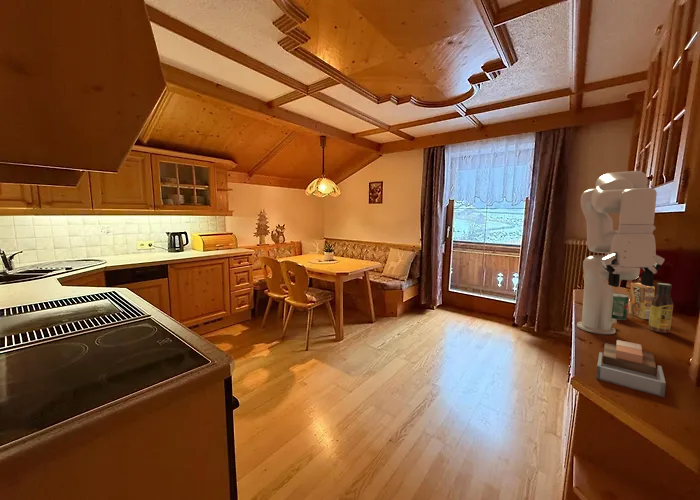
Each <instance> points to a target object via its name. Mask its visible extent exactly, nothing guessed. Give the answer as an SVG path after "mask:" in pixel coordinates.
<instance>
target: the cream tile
mask: <svg viewBox="0 0 700 500" xmlns="http://www.w3.org/2000/svg"><path fill="white" fill-rule="evenodd" d="M615 345H616V346H617V345H619V346H624V347H628V348H633V349H638V350H642V349H643V348H642V344H640V343H634V342H629V341H624V340H620V339H616V344H615ZM642 351H643V350H642Z"/></svg>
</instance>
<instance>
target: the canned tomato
mask: <svg viewBox="0 0 700 500" xmlns="http://www.w3.org/2000/svg"><path fill="white" fill-rule="evenodd" d="M629 298H630V295H628V294H624V293H619V292H614V293H613V305H612V318H611V319H616V320H618V321H626V320H627V319H628V318H627V317H628V308H629V305H628V304H629Z"/></svg>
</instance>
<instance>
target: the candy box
mask: <svg viewBox="0 0 700 500" xmlns="http://www.w3.org/2000/svg"><path fill="white" fill-rule="evenodd" d="M655 291H656V288H655V286H654V285H653V286H652V287H649V286H645V285H642V284H641V282H631V283H630V293H629V302H628V304H629V305H628V313H629V314H630V315H632V316H635V317H637V318H640V319H641V320H649V317H650V309H651V304H652V299H653V297H654V296H655Z"/></svg>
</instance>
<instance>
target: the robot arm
mask: <svg viewBox="0 0 700 500" xmlns="http://www.w3.org/2000/svg"><path fill="white" fill-rule="evenodd" d="M648 182H649V180H648V176H647V174H646V173H645V172H643V171H640V170H631V171H615V172H607V173H605V174H603V175H601V176H599V177H598V178H597V179H596V181H595V188H589V189H587V190H585V191H583V192H582V194H581V195H580V208H581V212H582V213H583V216H584V218H585V221H586V244H587V245H586V246H587V249H588V251H590V252H592V253H597V255H595V254H594V255H590V256H587V257H585V258H584V260H583V261H582V270H583V277H584V279H583V280H584V282H583V286H584V287H583V299H582V313H581V321H578V322H577V323H576V326H577V327H578V328H579V329H581V330H583V331H585V332H588V333H592V334H597V335H614V334H615V333H616V330H617V329H616V328H614V327H613V326H612V325H613V324H617V322H618V321H617V320H616V319H611V318H612V305H613V293H615V292H614V288H619V286H620V280H621V281H623V280H624V281H632V280H633V281H634V280H636V279H638V277H639V276H640V271H641V269H642V270H643V271H642V272H641V281H640V283H641V284H642V285H645V286H649V287H652V286H653V287H654V279H655V274H657V273H658V270H660V268H661V269H662V265H663V264H664V262H665V258H664V257H662V256H660V255H658V254H657V253H656V252H657V250H656V249H657V248H656V245H657V244H656V238H655V235H654V234H653V233H654V231H655V230H656V229H657V227H656V225H654V223H655V214H656V206H657V205H656V204H657V203H656V202H657V195H658V193H657V190H656V189H655V188H652V187H648ZM609 214H619V217H618V218H619V219H618V229H617V230H615V229H614V222H613V218H612V217H611V216H610V215H609ZM599 253H600V254H602V255H600V254H599ZM603 254H608V255H603Z"/></svg>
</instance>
